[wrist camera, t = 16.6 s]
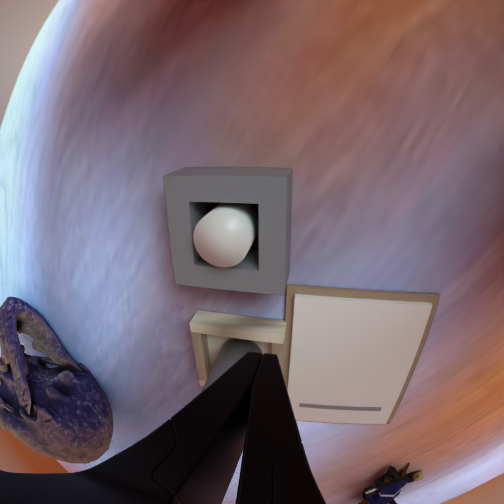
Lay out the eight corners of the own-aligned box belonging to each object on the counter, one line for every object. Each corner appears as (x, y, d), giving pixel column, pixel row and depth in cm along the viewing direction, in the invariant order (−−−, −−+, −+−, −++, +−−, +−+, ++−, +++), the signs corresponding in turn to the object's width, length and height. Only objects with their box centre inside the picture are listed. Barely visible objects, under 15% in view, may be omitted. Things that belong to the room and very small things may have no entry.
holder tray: (286, 320, 23) (283, 335, 21) (282, 383, 26) (279, 398, 24) (197, 310, 24) (189, 323, 23) (206, 372, 27) (199, 385, 26)
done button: (259, 200, 19) (248, 214, 16) (259, 248, 20) (249, 269, 18) (209, 198, 20) (191, 212, 17) (212, 245, 21) (195, 265, 18)
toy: (437, 468, 26) (395, 528, 29) (413, 441, 32) (380, 502, 35) (376, 490, 25) (341, 545, 27) (356, 456, 31) (328, 516, 33)
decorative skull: (-51, 314, 20) (-9, 437, 25) (72, 389, 20) (97, 498, 25) (16, 277, 32) (33, 391, 37) (130, 321, 32) (129, 435, 37)
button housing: (292, 168, 19) (287, 177, 16) (289, 272, 21) (283, 295, 19) (184, 167, 20) (163, 176, 17) (192, 264, 23) (175, 284, 20)
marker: (264, 341, 23) (243, 412, 17) (261, 371, 25) (241, 439, 19) (221, 333, 24) (190, 399, 18) (221, 363, 25) (193, 427, 19)
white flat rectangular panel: (439, 293, 20) (441, 298, 19) (389, 422, 26) (389, 427, 25) (287, 283, 22) (286, 289, 21) (279, 416, 28) (278, 421, 27)
